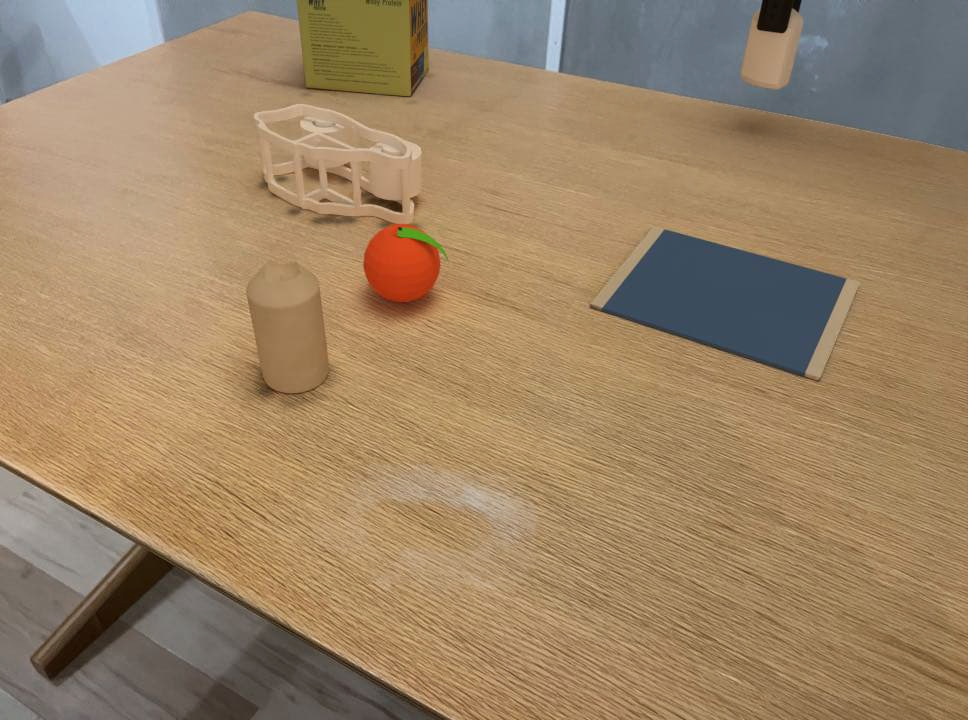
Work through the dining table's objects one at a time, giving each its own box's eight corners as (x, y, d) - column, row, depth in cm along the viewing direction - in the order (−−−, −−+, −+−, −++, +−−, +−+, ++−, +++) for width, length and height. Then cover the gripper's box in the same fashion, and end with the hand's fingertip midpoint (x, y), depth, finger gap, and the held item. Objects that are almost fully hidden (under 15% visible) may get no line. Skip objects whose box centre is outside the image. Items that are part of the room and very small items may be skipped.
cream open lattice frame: (444, 205, 89) (444, 140, 84) (369, 245, 83) (364, 177, 78) (323, 150, 99) (316, 89, 94) (249, 182, 93) (238, 119, 88)
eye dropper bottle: (757, 93, 96) (782, -20, 88) (735, 76, 100) (757, -33, 92) (792, 89, 96) (821, -23, 88) (769, 72, 100) (794, -36, 92)
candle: (249, 372, 68) (228, 270, 61) (302, 343, 71) (287, 242, 64) (290, 403, 65) (272, 299, 58) (343, 372, 68) (332, 269, 61)
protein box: (412, 97, 111) (409, -29, 100) (304, 88, 113) (290, -35, 103) (430, 69, 118) (429, -51, 108) (328, 61, 121) (317, -56, 110)
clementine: (461, 284, 77) (462, 216, 73) (436, 326, 72) (436, 256, 68) (382, 269, 79) (378, 202, 75) (353, 309, 75) (347, 240, 70)
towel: (859, 285, 76) (860, 281, 76) (818, 381, 66) (820, 377, 66) (653, 229, 84) (653, 225, 84) (589, 307, 74) (590, 303, 74)
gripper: (843, -156, 75) (791, 52, 87) (878, -180, 85) (827, 9, 97) (760, -159, 78) (721, 42, 90) (803, -182, 88) (763, 1, 100)
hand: (777, 23), depth 93 cm, fingers closed on eye dropper bottle, 3 cm apart
